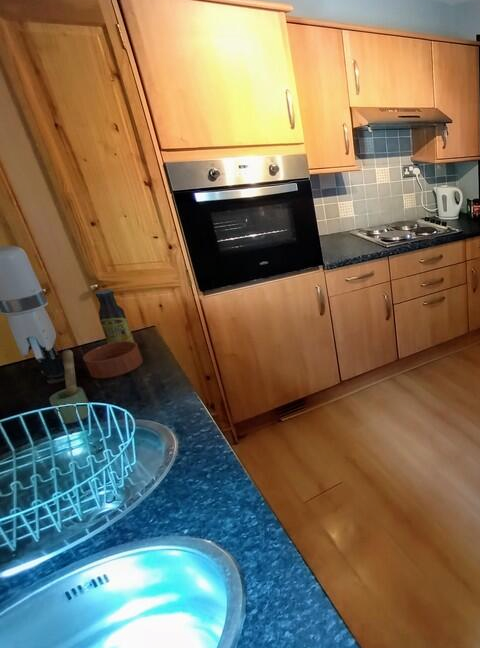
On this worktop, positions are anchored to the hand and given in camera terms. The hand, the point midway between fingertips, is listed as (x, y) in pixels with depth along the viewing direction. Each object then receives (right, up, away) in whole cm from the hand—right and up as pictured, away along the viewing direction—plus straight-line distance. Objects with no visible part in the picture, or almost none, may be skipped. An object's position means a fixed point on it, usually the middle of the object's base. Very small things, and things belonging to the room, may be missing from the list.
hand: (55, 372), depth 107 cm
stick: (0, -12, +5) cm, 13 cm away
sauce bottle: (-15, +2, +37) cm, 40 cm away
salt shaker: (-20, -5, +21) cm, 30 cm away
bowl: (-8, -3, +26) cm, 27 cm away
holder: (0, -12, +5) cm, 13 cm away
